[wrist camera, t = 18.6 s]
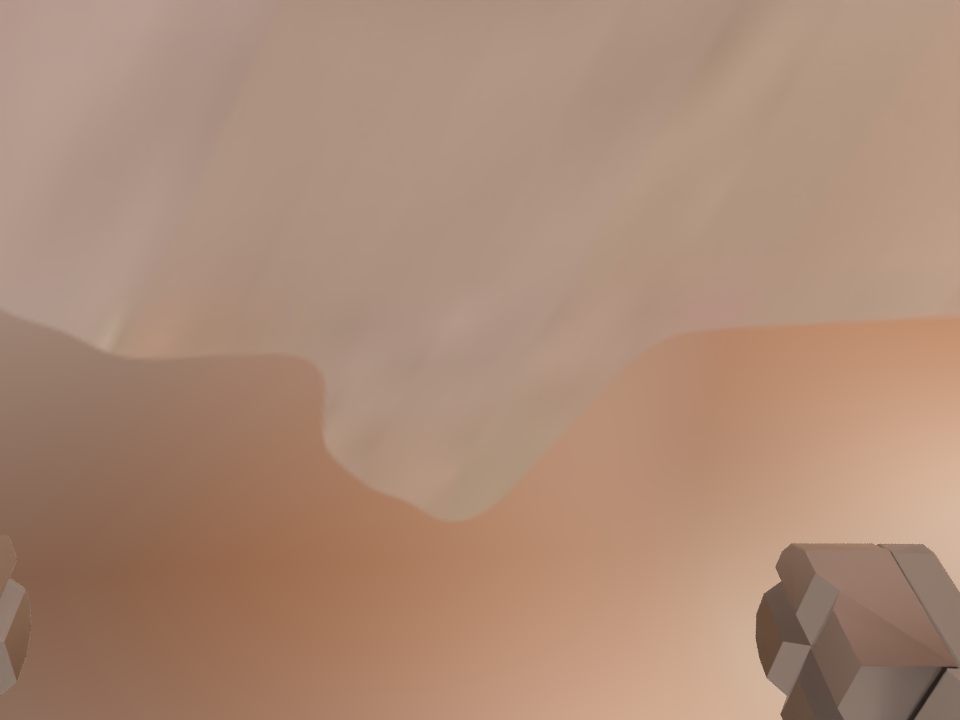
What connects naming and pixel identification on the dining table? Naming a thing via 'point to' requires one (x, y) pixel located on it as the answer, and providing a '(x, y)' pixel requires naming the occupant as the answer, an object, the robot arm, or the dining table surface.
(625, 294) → the dining table surface
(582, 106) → the dining table surface
